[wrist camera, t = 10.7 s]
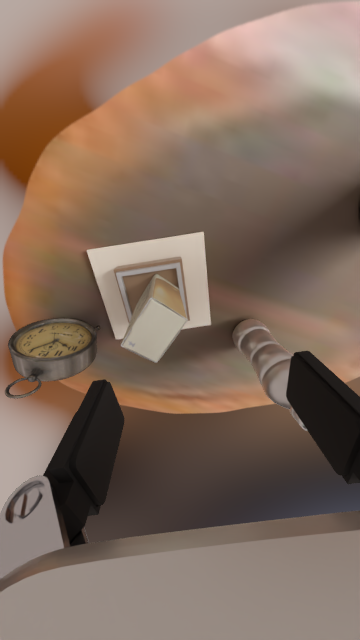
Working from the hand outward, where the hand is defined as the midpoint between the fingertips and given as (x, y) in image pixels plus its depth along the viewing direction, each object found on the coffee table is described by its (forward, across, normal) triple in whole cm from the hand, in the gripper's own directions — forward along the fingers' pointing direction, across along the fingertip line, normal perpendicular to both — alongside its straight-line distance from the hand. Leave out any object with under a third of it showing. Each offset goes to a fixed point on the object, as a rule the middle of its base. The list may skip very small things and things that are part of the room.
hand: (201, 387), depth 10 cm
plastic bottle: (+26, -11, +13) cm, 31 cm away
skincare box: (+21, +4, +2) cm, 22 cm away
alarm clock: (+25, +21, +6) cm, 33 cm away
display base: (+25, +5, +2) cm, 26 cm away
